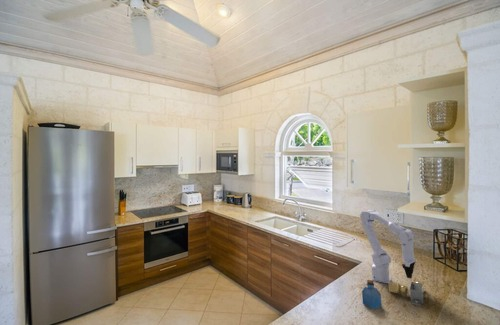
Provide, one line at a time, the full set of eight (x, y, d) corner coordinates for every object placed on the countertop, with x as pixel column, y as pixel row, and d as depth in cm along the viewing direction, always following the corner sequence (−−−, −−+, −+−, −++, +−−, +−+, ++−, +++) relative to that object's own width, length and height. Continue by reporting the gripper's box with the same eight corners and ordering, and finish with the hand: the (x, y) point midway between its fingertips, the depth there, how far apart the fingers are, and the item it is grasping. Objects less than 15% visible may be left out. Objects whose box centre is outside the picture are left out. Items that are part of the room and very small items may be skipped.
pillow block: (410, 304, 122) (409, 291, 122) (412, 291, 135) (411, 279, 135) (422, 307, 119) (421, 293, 119) (423, 293, 132) (422, 281, 132)
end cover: (388, 293, 133) (388, 283, 133) (390, 289, 137) (389, 280, 137) (407, 297, 127) (406, 287, 128) (408, 293, 132) (407, 283, 132)
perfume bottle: (362, 303, 125) (361, 280, 126) (371, 300, 127) (369, 277, 128) (372, 309, 119) (370, 285, 120) (381, 306, 121) (379, 282, 122)
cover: (416, 292, 133) (415, 284, 134) (412, 288, 138) (411, 280, 139) (427, 292, 132) (425, 283, 133) (421, 288, 137) (420, 280, 138)
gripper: (415, 256, 128) (417, 282, 127) (417, 248, 139) (419, 272, 138) (400, 254, 132) (402, 278, 131) (403, 247, 143) (405, 270, 143)
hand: (409, 275), depth 135 cm, fingers open, 7 cm apart
